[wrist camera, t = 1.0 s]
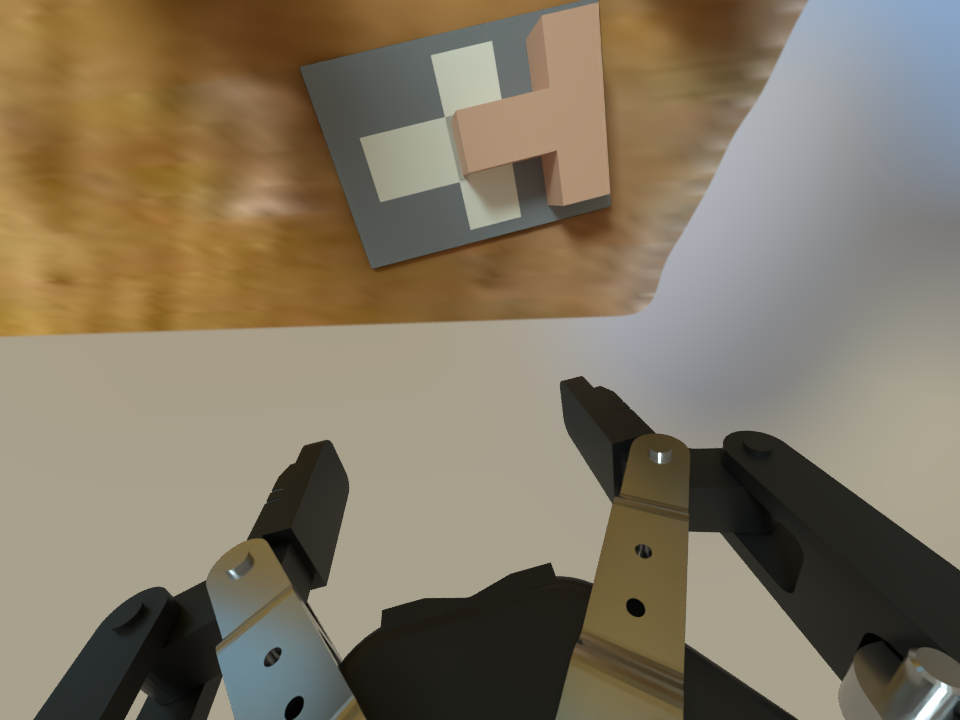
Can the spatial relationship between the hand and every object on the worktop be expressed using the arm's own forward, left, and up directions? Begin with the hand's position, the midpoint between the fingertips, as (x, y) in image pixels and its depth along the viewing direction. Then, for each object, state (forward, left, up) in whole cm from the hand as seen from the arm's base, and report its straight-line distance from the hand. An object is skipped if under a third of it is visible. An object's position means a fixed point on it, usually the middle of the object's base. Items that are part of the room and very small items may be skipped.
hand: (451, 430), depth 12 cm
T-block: (-10, +11, -24) cm, 28 cm away
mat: (-10, +7, -24) cm, 27 cm away
